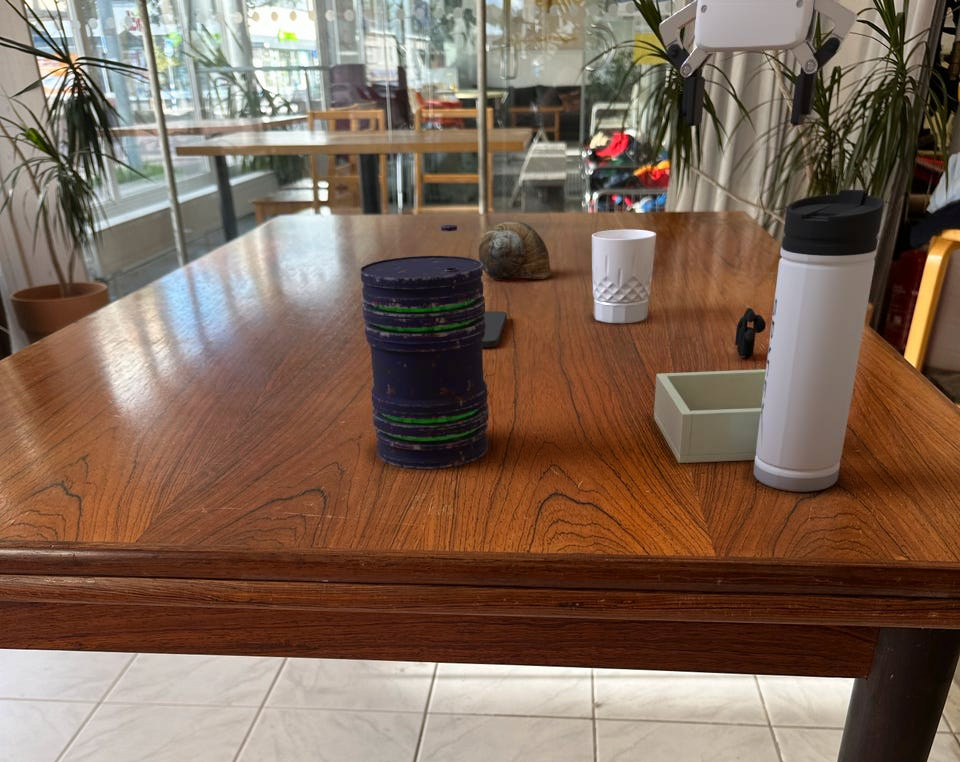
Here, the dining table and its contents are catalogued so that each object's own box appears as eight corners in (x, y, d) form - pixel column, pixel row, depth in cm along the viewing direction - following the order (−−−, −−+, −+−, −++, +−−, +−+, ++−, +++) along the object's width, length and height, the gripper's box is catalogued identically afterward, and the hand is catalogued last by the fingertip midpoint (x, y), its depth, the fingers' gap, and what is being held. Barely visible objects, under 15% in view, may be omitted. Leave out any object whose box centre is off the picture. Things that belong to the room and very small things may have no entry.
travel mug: (852, 473, 73) (903, 191, 63) (815, 499, 69) (862, 202, 59) (778, 456, 77) (814, 187, 67) (738, 480, 73) (770, 197, 63)
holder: (779, 413, 86) (785, 368, 84) (820, 457, 77) (828, 408, 74) (653, 418, 87) (656, 373, 84) (678, 463, 77) (682, 414, 74)
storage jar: (352, 456, 81) (327, 230, 71) (421, 423, 88) (406, 213, 78) (446, 477, 76) (433, 237, 66) (511, 440, 83) (507, 218, 73)
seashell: (476, 284, 143) (474, 227, 139) (482, 272, 151) (480, 218, 147) (551, 282, 142) (551, 225, 138) (552, 271, 150) (552, 216, 146)
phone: (434, 341, 110) (451, 311, 123) (434, 348, 111) (451, 318, 123) (497, 341, 109) (508, 311, 122) (497, 348, 110) (508, 317, 123)
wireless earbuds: (733, 349, 106) (737, 302, 103) (755, 349, 106) (761, 302, 103) (741, 366, 100) (746, 317, 97) (765, 365, 100) (771, 316, 97)
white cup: (619, 308, 126) (622, 227, 120) (664, 317, 120) (669, 233, 115) (576, 318, 121) (578, 235, 116) (621, 328, 116) (625, 241, 111)
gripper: (881, -111, 79) (846, 121, 88) (679, -91, 86) (666, 123, 95) (870, -123, 73) (834, 127, 82) (655, -101, 80) (643, 128, 89)
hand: (744, 124), depth 88 cm, fingers open, 9 cm apart
